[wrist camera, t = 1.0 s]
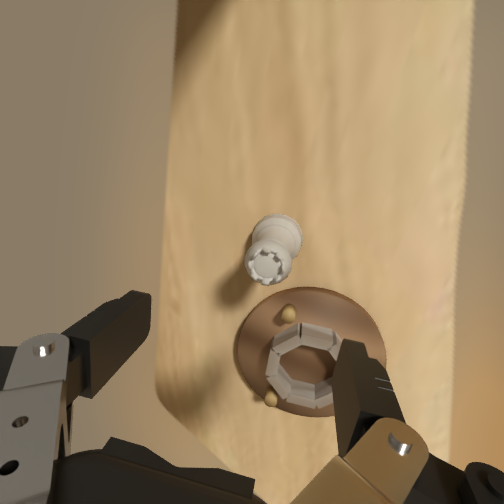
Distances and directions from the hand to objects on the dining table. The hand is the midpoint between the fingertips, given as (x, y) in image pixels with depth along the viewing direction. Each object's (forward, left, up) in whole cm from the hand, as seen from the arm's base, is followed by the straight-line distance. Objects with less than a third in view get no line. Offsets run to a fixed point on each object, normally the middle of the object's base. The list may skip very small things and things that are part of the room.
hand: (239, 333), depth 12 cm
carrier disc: (+11, +5, -16) cm, 20 cm away
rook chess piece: (0, 0, -16) cm, 16 cm away
